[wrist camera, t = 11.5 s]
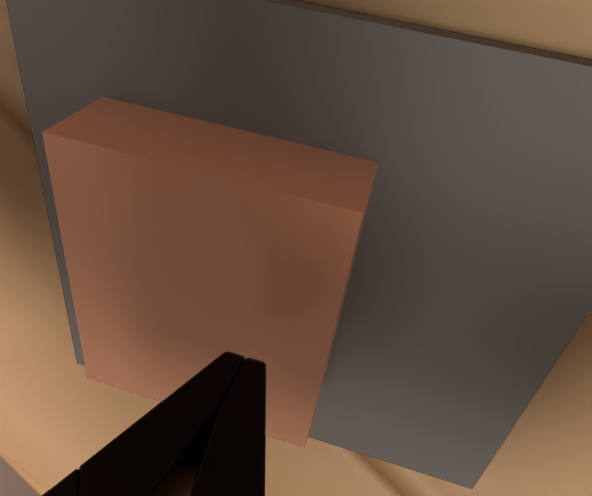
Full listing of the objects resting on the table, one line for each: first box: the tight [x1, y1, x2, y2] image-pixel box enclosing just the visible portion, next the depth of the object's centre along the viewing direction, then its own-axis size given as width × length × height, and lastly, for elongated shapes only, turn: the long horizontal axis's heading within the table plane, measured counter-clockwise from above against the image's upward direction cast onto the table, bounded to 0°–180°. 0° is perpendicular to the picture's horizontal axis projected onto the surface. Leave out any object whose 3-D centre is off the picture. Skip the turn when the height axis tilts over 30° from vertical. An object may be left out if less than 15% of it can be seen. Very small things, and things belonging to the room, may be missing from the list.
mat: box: [6, 0, 592, 489], centre depth 13 cm, size 12×13×1 cm
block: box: [42, 97, 379, 448], centre depth 12 cm, size 7×2×6 cm
